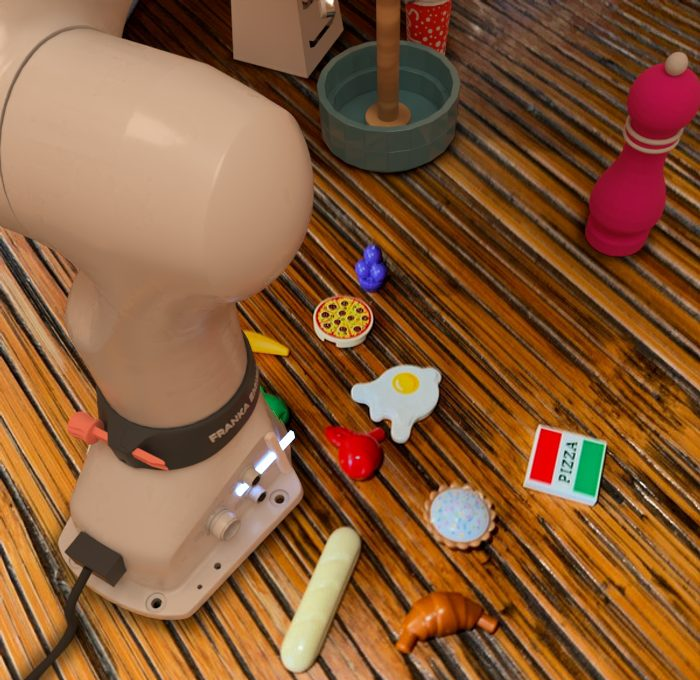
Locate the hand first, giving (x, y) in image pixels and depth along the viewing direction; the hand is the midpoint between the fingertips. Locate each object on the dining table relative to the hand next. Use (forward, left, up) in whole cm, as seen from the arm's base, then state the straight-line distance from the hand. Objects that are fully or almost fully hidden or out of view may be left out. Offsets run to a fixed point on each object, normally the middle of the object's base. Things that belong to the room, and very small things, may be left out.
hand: (370, 9), depth 82 cm
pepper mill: (-8, -33, -11) cm, 36 cm away
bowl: (-4, -4, -11) cm, 12 cm away
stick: (-4, -4, -10) cm, 12 cm away
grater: (+5, +15, -11) cm, 19 cm away
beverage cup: (+10, -2, -11) cm, 15 cm away
